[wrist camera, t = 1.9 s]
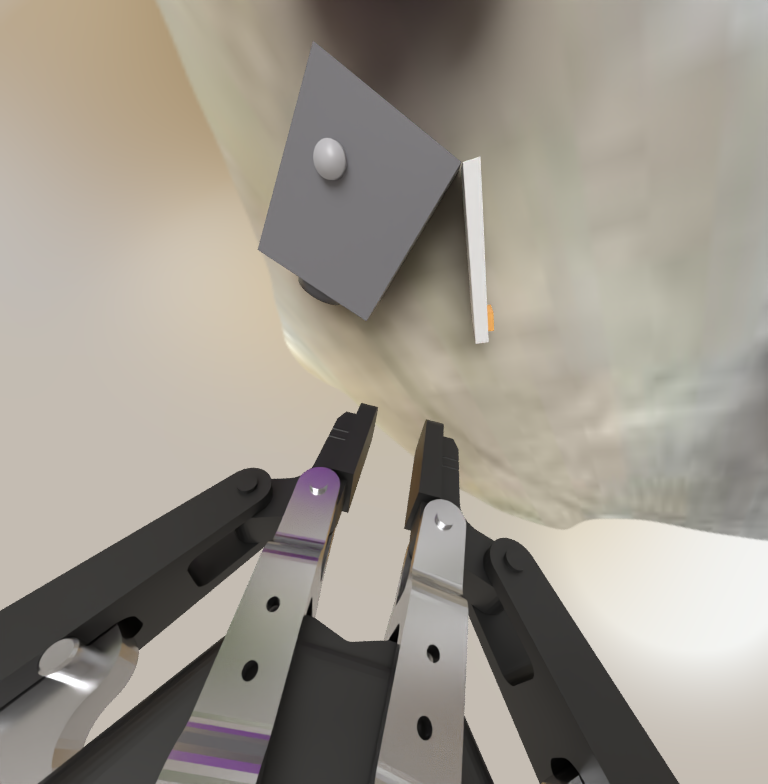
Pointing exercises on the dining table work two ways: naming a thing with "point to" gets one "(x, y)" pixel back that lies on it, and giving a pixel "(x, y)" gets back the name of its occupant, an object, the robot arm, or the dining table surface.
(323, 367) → the dining table surface
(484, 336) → the side door
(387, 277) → the camera case
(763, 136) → the dining table surface
